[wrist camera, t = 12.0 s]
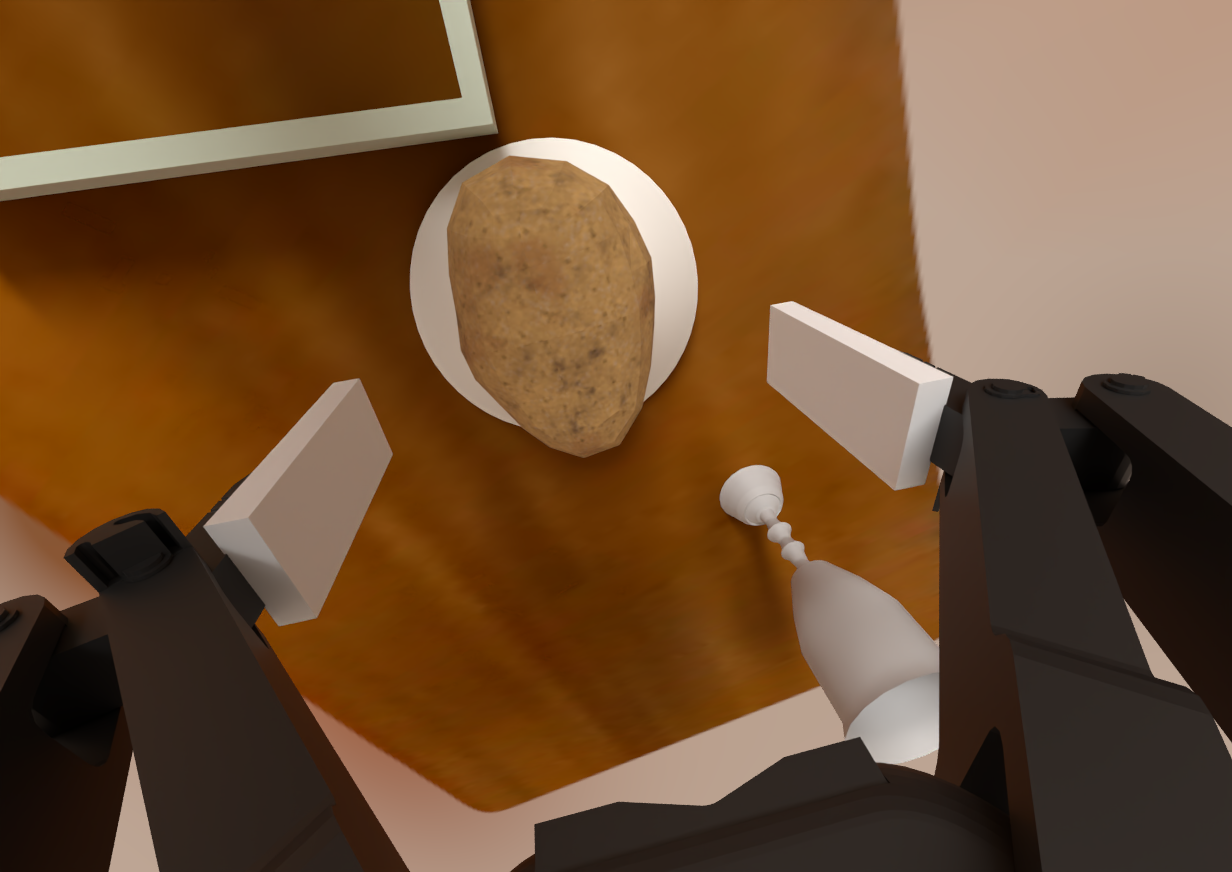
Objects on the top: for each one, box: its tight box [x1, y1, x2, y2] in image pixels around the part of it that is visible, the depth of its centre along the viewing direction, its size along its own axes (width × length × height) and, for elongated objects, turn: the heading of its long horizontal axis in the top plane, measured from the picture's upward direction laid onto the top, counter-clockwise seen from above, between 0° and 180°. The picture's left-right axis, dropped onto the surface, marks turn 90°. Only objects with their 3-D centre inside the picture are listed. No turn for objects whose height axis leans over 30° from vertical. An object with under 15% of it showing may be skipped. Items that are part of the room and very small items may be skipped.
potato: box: [447, 155, 655, 458], centre depth 23 cm, size 10×14×8 cm
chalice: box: [720, 465, 939, 764], centre depth 29 cm, size 7×7×18 cm
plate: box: [410, 138, 698, 426], centre depth 27 cm, size 16×16×1 cm
